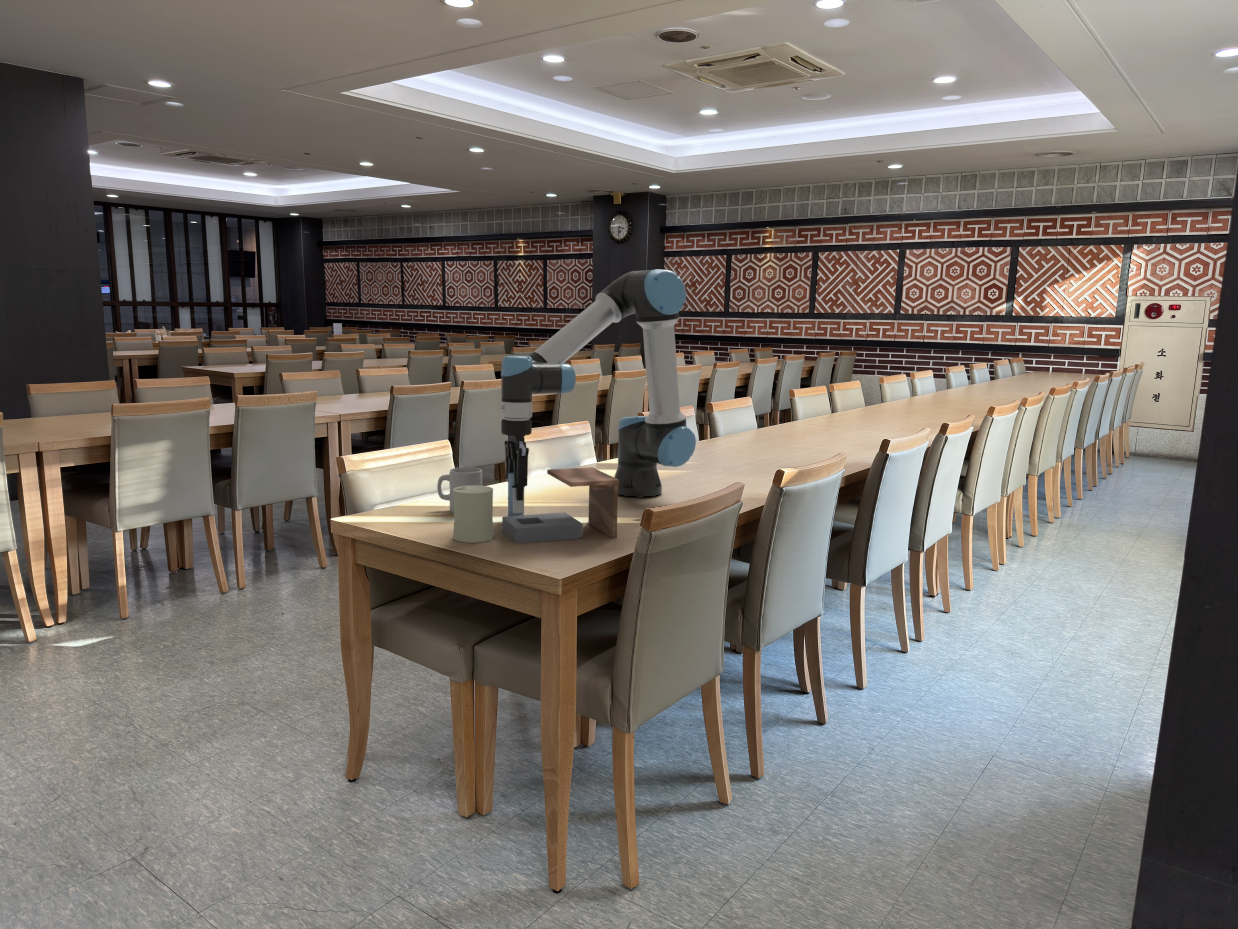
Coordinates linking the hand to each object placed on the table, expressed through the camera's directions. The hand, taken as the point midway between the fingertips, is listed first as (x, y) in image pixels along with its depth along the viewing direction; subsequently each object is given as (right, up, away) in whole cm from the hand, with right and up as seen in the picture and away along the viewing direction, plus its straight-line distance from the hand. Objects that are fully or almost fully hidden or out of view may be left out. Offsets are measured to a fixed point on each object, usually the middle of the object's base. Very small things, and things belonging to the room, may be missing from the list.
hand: (515, 510), depth 209 cm
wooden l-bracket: (+17, -5, -8) cm, 19 cm away
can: (-8, -6, -17) cm, 19 cm away
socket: (+8, -5, -12) cm, 15 cm away
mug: (-16, -1, +10) cm, 19 cm away
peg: (0, -3, 0) cm, 3 cm away
